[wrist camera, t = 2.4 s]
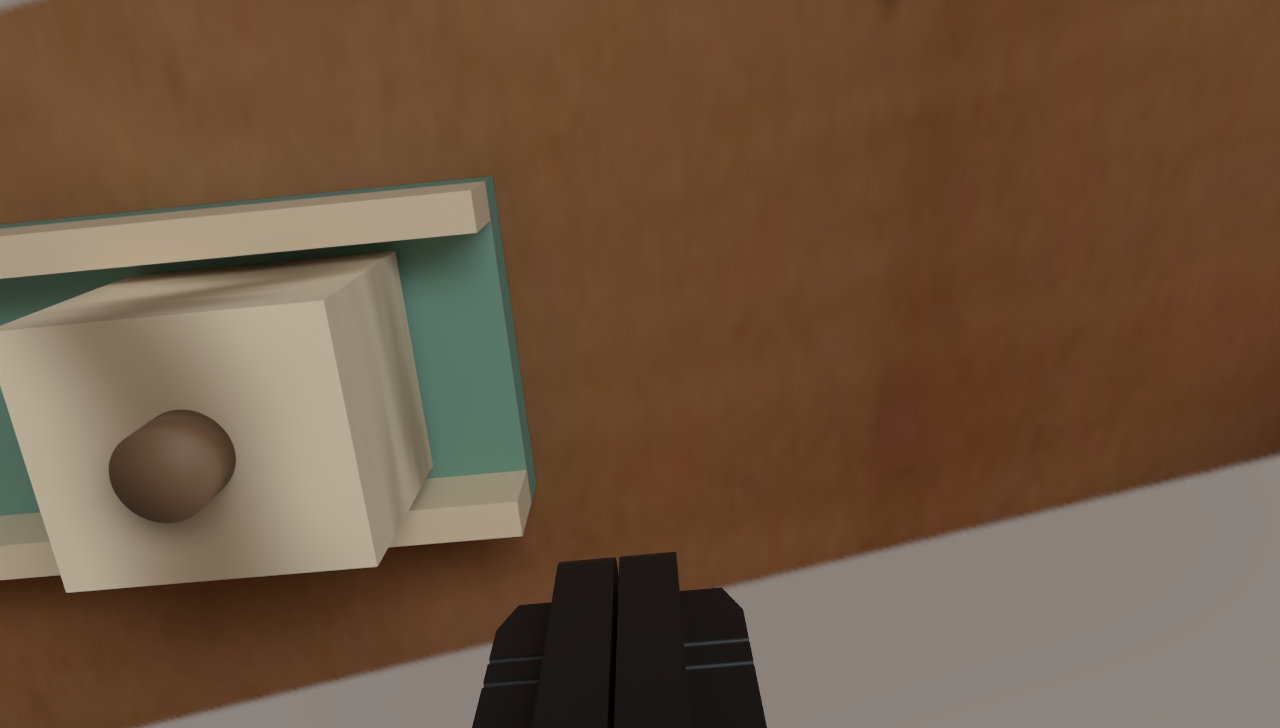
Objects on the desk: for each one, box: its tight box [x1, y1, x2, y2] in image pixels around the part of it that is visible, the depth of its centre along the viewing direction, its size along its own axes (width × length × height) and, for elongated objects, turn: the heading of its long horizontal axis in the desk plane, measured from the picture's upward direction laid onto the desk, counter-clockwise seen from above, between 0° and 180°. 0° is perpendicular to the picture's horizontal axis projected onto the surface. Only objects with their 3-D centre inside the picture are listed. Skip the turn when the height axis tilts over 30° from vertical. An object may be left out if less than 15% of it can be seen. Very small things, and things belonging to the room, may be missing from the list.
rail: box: [0, 176, 536, 580], centre depth 23 cm, size 24×9×6 cm, turn 96°
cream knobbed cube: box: [0, 251, 433, 593], centre depth 22 cm, size 7×6×7 cm
